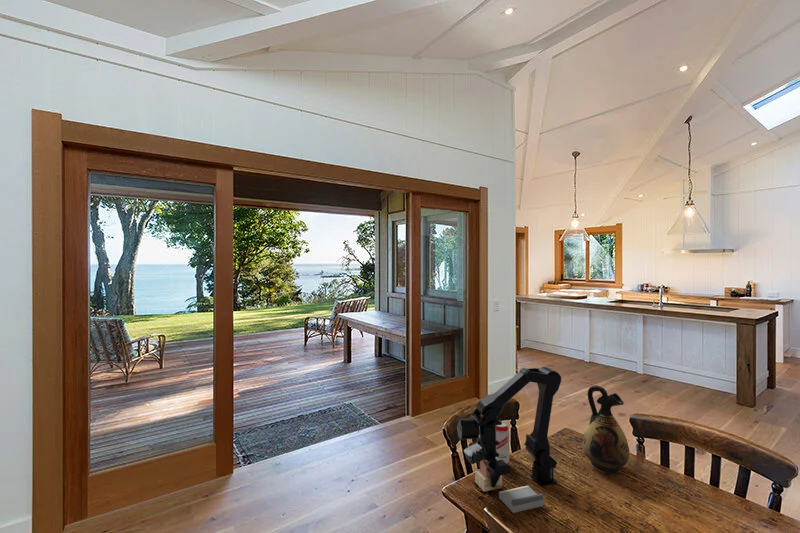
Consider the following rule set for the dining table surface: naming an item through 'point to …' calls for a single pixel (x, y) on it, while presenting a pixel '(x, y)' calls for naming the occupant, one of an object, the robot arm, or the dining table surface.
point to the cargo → (484, 468)
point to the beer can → (502, 442)
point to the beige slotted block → (486, 482)
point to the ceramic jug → (605, 435)
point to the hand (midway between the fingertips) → (488, 481)
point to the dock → (521, 499)
